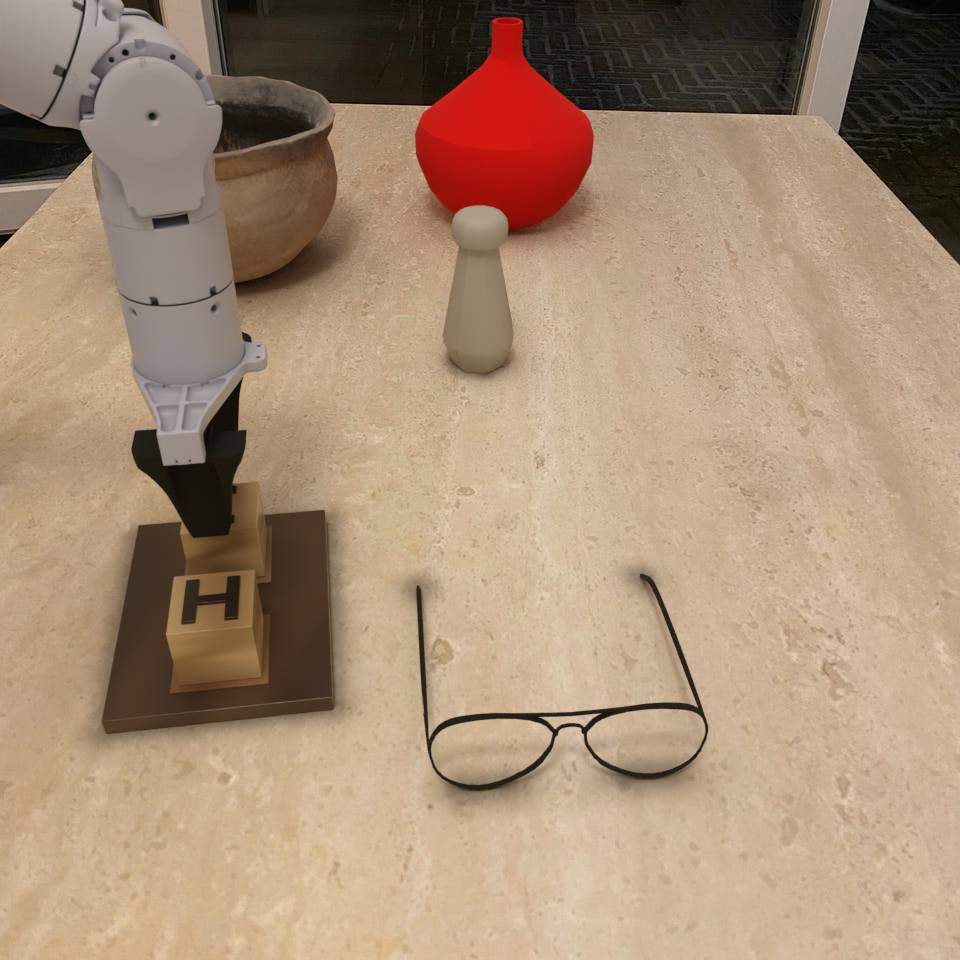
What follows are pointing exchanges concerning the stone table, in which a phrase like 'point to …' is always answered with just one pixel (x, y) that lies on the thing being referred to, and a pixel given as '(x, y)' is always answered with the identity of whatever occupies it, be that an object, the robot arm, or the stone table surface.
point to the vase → (505, 138)
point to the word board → (286, 634)
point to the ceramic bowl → (270, 169)
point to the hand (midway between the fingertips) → (215, 490)
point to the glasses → (535, 716)
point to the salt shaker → (478, 292)
